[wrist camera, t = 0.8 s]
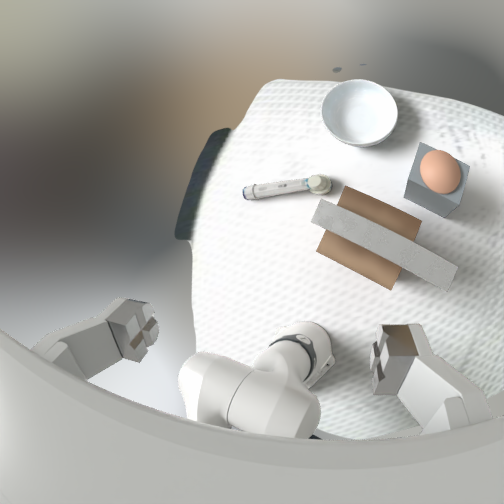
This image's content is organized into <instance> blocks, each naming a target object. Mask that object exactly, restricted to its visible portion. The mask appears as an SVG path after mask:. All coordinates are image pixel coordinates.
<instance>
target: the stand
mask: <svg viewBox="0 0 504 504" xmlns="http://www.w3.org/2000/svg"><path fill="white" fill-rule="evenodd" d="M337 206H339V207H342V208H344V209H346V210H348V211H351V212H353V213H355V214H357V215H359V216H361V217H364V218H366V219H368V220H370V221H372V222H374V223H376V224H378V225H380V226H383V227H385V228H387V229H389V230H391V231H393V232H395V233H397V234H399V235H401V236H403V237H405V238H407V239H408V240H410V241H412V242H414V240H415V237H416V235H417V232H418V230H419V227H420V225H421V222H422V221H421V220H419V219H417V218H415V217H413V216H411V215H409V214H407V213H405V212H403V211H401V210H399V209H397V208H395V207H393V206H391V205H388V204H386V203H384V202H382V201H380V200H378V199H375V198H373V197H371V196H369V195H366V194H364V193H362V192H359V191H357V190H355V189H352V188H350V187H348V186H345V188H344V190H343V192H342V195H341V197H340V199H339V202H338V204H337ZM316 252H318V253H320V254H322V255H324V256H326V257H328V258H330V259H332V260H334V261H336V262H338V263H340V264H342V265H344V266H345V267H347V268H349V269H351V270H353V271H355V272H357V273H359V274H361V275H363V276H365V277H366V278H368V279H370V280H372V281H374V282H376V283H378V284H380V285H381V286H383V287H385V288H387V289H389V290H392V288H393V286H394V284H395V282H396V279H397V277H398V275H399V273H400V271H401V269H402V267H400V266H399V265H397V264H395V263H393V262H391V261H389V260H387V259H385V258H383V257H381V256H379V255H377V254H375V253H373V252H371V251H370V250H368V249H366V248H364V247H362V246H360V245H358V244H356V243H353V242H351V241H349V240H347V239H345V238H343V237H341V236H339V235H337V234H335V233H333V232H331V231H329V230H327V229H326V231H325V233H324V235H323V238H322V240H321V242H320V244H319V246H318V248H317V250H316Z"/></svg>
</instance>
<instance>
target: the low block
mask: <svg viewBox="0 0 504 504" xmlns="http://www.w3.org/2000/svg"><path fill="white" fill-rule="evenodd" d="M469 168H470V166H468V165H467V164H465V163H463V162H461V161H459V160H457V159H455V158H453V157H452V156H451V155H450V154H448V153H447V152H444V151H441V150H437V149H435V148H432V147H430V146H428V145H426V144H424V143H421V142H420V144H419V147H418V150H417V153H416V157H415V160H414V163H413V166H412V169H411V172H410V175H409V178H408V181H407V186H406V190H405V194H404V198H406V199H408V200H410V201H412V202H414V203H416V204H418V205H420V206H422V207H424V208H426V209H428V210H430V211H432V212H434V213H436V214H438V215H439V216H441V217H443V218H445V217H446V216H447V215H448V214H449V213H451V212H452V211H453V210H454V209H455V208H457V207H458V206H459V205H460V201H461V198H462V195H463V191H464V187H465V184H466V180H467V176H468V172H469Z"/></svg>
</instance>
